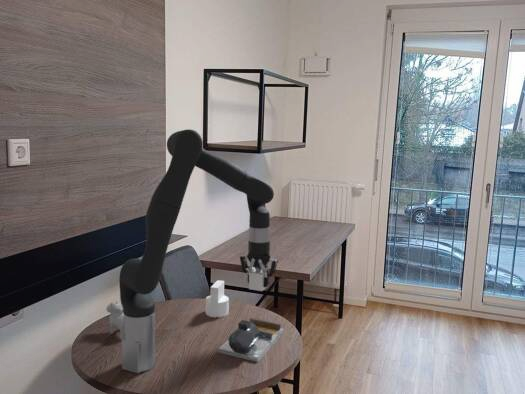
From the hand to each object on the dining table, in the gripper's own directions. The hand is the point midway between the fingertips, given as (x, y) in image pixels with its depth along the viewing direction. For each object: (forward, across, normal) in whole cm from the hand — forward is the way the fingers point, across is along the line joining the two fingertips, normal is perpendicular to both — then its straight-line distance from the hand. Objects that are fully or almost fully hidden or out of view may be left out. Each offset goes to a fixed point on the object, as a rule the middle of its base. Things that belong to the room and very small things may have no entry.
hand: (258, 285), depth 169 cm
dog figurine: (+18, -44, -22) cm, 52 cm away
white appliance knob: (+18, -22, +10) cm, 30 cm away
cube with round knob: (+1, 0, 0) cm, 1 cm away
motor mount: (+18, +1, -7) cm, 19 cm away
